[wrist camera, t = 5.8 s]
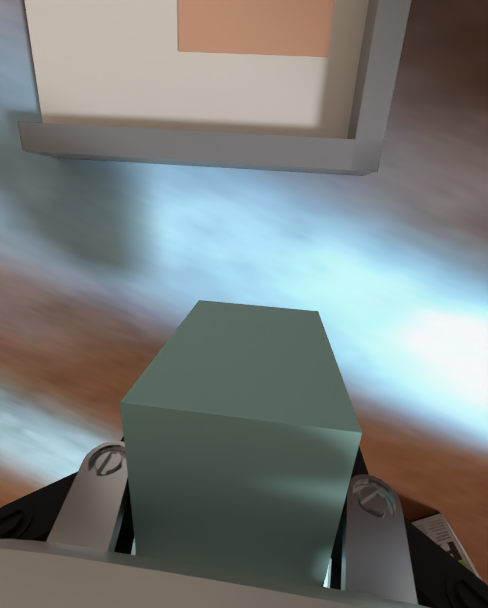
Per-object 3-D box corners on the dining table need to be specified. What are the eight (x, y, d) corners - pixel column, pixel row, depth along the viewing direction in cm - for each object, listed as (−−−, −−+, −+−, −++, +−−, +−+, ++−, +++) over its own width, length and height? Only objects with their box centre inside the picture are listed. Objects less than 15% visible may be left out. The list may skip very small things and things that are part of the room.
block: (318, 311, 11) (361, 432, 5) (292, 470, 14) (303, 662, 8) (199, 300, 11) (120, 402, 6) (198, 457, 14) (144, 632, 8)
